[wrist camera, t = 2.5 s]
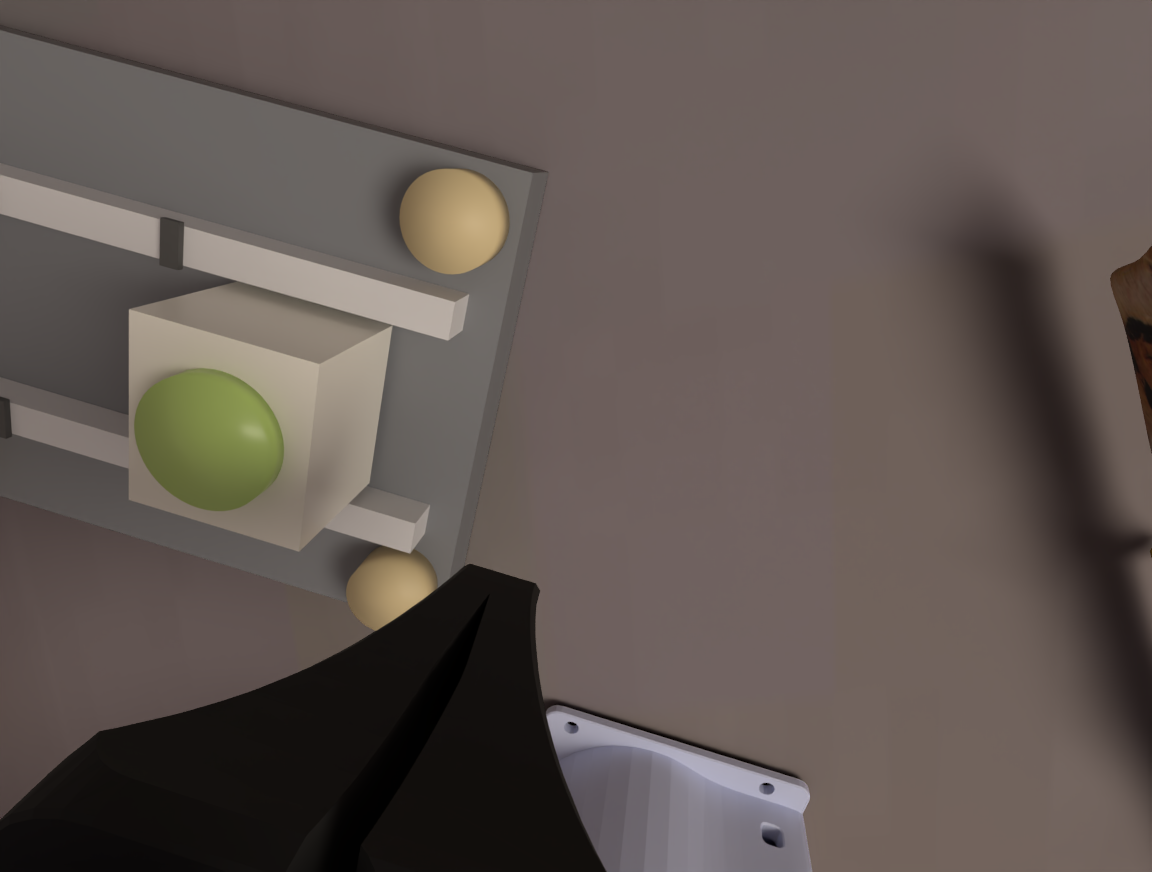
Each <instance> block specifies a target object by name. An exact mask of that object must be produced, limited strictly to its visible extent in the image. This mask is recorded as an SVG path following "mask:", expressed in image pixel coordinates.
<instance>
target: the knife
mask: <svg viewBox="0 0 1152 872" xmlns="http://www.w3.org/2000/svg"><path fill="white" fill-rule="evenodd" d="M1110 281H1111V287H1112V291H1113V294H1114V297H1115V300H1116V303H1117V305H1118V308H1119V311H1120V314H1121V317H1122V320H1123V324H1124V327H1125V331H1126V335H1127V338H1128V343H1129V347H1130V351H1131V356H1132V360H1133V365H1134V370H1135V374H1136V379H1137V384H1138V389H1139V394H1140V399H1141V404H1142V409H1143V414H1144V419H1145V424H1146V429H1147V434H1148V439H1149V443H1150V448H1151V453H1152V246H1151V247H1150V248H1149V250H1148V251H1147V252H1146V253H1145V254H1144V255H1143V256H1142V257H1141V258H1140V259H1139V260H1137V261H1135V262H1133V263H1131V264H1128V265H1126V266H1123V267H1121V268H1118V269H1117V270H1115V271H1114V272H1113V273H1112V275H1111V278H1110ZM1150 553H1151V557H1152V548H1151V550H1150Z"/></svg>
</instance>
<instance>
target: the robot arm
mask: <svg viewBox="0 0 1152 872" xmlns="http://www.w3.org/2000/svg"><path fill="white" fill-rule="evenodd" d="M539 593H540V590H539V588H538V587H537V585H536V583H533V582H529V581H526V580H523V579H519V578H516V577H513V576H509V575H506V574H503V573H499V572H496V571H493V570H489V569H486V568H483V567H479V566H476V565H473V564H468V565H466V566H464V567H462V568H461V569H460V570H459V571H458V572H457V573H455V574H454V575H453V576H452V577H451V578H450V579H448V580H447V581H446V582H445V583H443V584H442V585H441V586H440V587H438V588H437V589H436V590H434V591H433V592H432V593H431V594H429V595H428V596H427V597H425V598H424V599H423V600H421V601H420V602H418V603H417V604H416V605H414V606H413V607H411V608H410V609H408V610H407V611H406V612H404V613H403V614H401V615H400V616H399V617H397V618H396V619H394V620H393V621H391V622H389V623H388V624H386V625H385V626H383V627H381V628H380V629H378V630H377V631H375V632H373V633H372V634H370V635H368V636H367V637H365V638H364V639H362V640H360V641H359V642H357V643H355V644H353V645H352V646H350V647H348V648H346V649H344V650H343V651H341V652H339V653H337V654H335V655H333V656H331V657H329V658H327V659H325V660H323V661H321V662H319V663H317V664H315V665H313V666H311V667H309V668H307V669H305V670H302V671H300V672H298V673H295V674H293V675H291V676H288V677H286V678H283V679H281V680H279V681H276V682H274V683H271V684H269V685H266V686H264V687H261V688H259V689H256V690H253V691H250V692H248V693H245V694H242V695H239V696H236V697H233V698H230V699H227V700H224V701H221V702H217V703H214V704H210V705H207V706H204V707H200V708H197V709H194V710H190V711H186V712H183V713H179V714H175V715H171V716H167V717H162V718H158V719H154V720H149V721H145V722H141V723H136V724H132V725H128V726H123V727H119V728H114V729H109V730H104V731H99V732H98V733H97V734H96V735H94V736H93V737H92V738H91V739H90V740H88V741H87V742H86V743H85V744H83V745H82V746H81V747H80V748H78V749H77V750H76V751H74V752H73V753H72V754H71V755H69V756H68V757H67V758H66V759H65V760H64V761H62V762H61V763H60V764H59V765H58V766H57V767H56V768H55V769H53V770H52V771H51V772H50V773H49V774H48V775H47V776H46V777H45V778H44V779H43V780H42V781H41V782H39V783H38V784H37V785H36V786H35V787H34V788H33V789H32V790H31V791H30V792H29V793H28V794H27V795H26V796H25V797H24V798H23V799H22V800H21V801H19V802H18V803H17V804H16V805H15V806H14V807H13V808H12V809H11V810H10V811H9V812H8V813H7V814H6V815H5V816H4V817H3V818H2V819H0V872H812V867H811V861H810V855H809V849H808V843H807V837H806V831H805V825H804V819H803V812H804V810H805V808H806V806H807V804H808V802H809V799H810V794H809V789H808V786H807V784H806V783H805V782H804V781H802V780H800V779H797V778H794V777H790V776H787V775H784V774H781V773H777V772H774V771H771V770H768V769H765V768H761V767H758V766H755V765H752V764H748V763H745V762H742V761H739V760H736V759H732V758H729V757H726V756H723V755H719V754H716V753H713V752H710V751H707V750H703V749H700V748H697V747H694V746H690V745H687V744H684V743H681V742H678V741H674V740H671V739H668V738H665V737H661V736H658V735H655V734H652V733H648V732H645V731H642V730H639V729H636V728H632V727H629V726H626V725H623V724H619V723H616V722H613V721H610V720H607V719H603V718H600V717H597V716H594V715H590V714H587V713H584V712H581V711H578V710H574V709H571V708H568V707H565V706H560V705H554V706H551V707H550V708H548V709H547V711H546V712H545V707H544V702H543V697H542V691H541V685H540V679H539V672H538V662H537V652H536V638H535V616H536V604H537V600H538V596H539ZM567 722H574V723H576V724H577V725H576V726H573V725H570V724H568V723H567ZM763 783H770V785H762V784H763Z"/></svg>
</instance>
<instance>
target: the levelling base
mask: <svg viewBox="0 0 1152 872" xmlns="http://www.w3.org/2000/svg"><path fill="white" fill-rule="evenodd" d="M548 173H549V172H546V171H542V170H538V169H535V168H531V167H527V166H523V165H520V164H516V163H512V162H509V161H505V160H501V159H497V158H494V157H490V156H486V155H482V154H479V153H475V152H471V151H467V150H464V149H460V148H456V147H453V146H449V145H445V144H441V143H438V142H434V141H430V140H426V139H423V138H419V137H415V136H411V135H408V134H404V133H400V132H396V131H393V130H389V129H385V128H382V127H378V126H374V125H370V124H367V123H363V122H359V121H355V120H352V119H348V118H344V117H340V116H337V115H333V114H329V113H325V112H322V111H318V110H314V109H311V108H307V107H303V106H299V105H296V104H292V103H288V102H284V101H281V100H277V99H273V98H269V97H266V96H262V95H258V94H255V93H251V92H247V91H243V90H240V89H236V88H232V87H228V86H225V85H221V84H217V83H213V82H210V81H206V80H202V79H198V78H195V77H191V76H187V75H184V74H180V73H176V72H172V71H169V70H165V69H161V68H157V67H154V66H150V65H146V64H142V63H139V62H135V61H131V60H128V59H124V58H120V57H116V56H113V55H109V54H105V53H101V52H98V51H94V50H90V49H86V48H83V47H79V46H75V45H71V44H68V43H64V42H60V41H57V40H53V39H49V38H45V37H42V36H38V35H34V34H30V33H27V32H23V31H19V30H15V29H12V28H8V27H4V26H0V496H2V497H5V498H8V499H12V500H15V501H18V502H21V503H25V504H28V505H31V506H34V507H38V508H41V509H44V510H47V511H51V512H54V513H57V514H60V515H64V516H67V517H70V518H73V519H77V520H80V521H83V522H86V523H90V524H93V525H96V526H99V527H103V528H106V529H109V530H112V531H116V532H119V533H122V534H126V535H129V536H132V537H135V538H139V539H142V540H145V541H148V542H152V543H155V544H158V545H161V546H165V547H168V548H171V549H174V550H178V551H181V552H184V553H187V554H191V555H194V556H197V557H200V558H204V559H207V560H210V561H213V562H217V563H220V564H223V565H226V566H230V567H233V568H236V569H239V570H243V571H246V572H249V573H252V574H256V575H259V576H262V577H265V578H269V579H272V580H275V581H279V582H282V583H285V584H288V585H292V586H295V587H298V588H301V589H305V590H308V591H311V592H314V593H318V594H321V595H324V596H327V597H331V598H334V599H337V600H340V601H344V602H347V603H348V604H349V607H350V609H351V611H352V612H353V614H354V615H355V616H356V617H357V618H358V619H359V620H360V621H361V622H362V623H363V624H364V625H366V626H367V627H369V628H371V629H373V630H375V631H377V630H378V629H380V628H381V627H383V626H385V625H386V624H388V623H389V622H391V621H393V620H394V619H396V618H397V617H399V616H400V615H401V614H403V613H404V612H406V611H407V610H408V609H410V608H411V607H413V606H414V605H416V604H417V603H418V602H420V601H421V600H423V599H424V598H425V597H427V596H428V595H429V594H431V593H432V592H433V591H434V590H436V589H437V588H438V587H440V586H441V585H442V584H443V583H445V582H446V581H447V580H448V579H450V578H451V577H452V576H453V575H454V574H455V573H457V572H458V571H459V570H460V569H461V568H462V567H464V564H465V559H466V555H467V550H468V545H469V541H470V536H471V531H472V527H473V522H474V517H475V513H476V508H477V503H478V499H479V494H480V489H481V485H482V480H483V475H484V471H485V466H486V461H487V457H488V452H489V447H490V443H491V438H492V433H493V429H494V424H495V420H496V415H497V410H498V406H499V401H500V396H501V392H502V387H503V382H504V378H505V373H506V368H507V364H508V359H509V354H510V350H511V345H512V340H513V336H514V331H515V326H516V322H517V317H518V312H519V308H520V303H521V298H522V294H523V289H524V284H525V280H526V275H527V270H528V266H529V261H530V256H531V252H532V247H533V242H534V238H535V233H536V228H537V224H538V219H539V214H540V210H541V205H542V201H543V196H544V191H545V187H546V182H547V177H548ZM234 282H241V283H245V284H248V285H252V286H255V287H259V288H262V289H266V290H269V291H273V292H276V293H280V294H283V295H287V296H291V297H294V298H298V299H301V300H305V301H308V302H312V303H315V304H319V305H322V306H326V307H329V308H333V309H336V310H340V311H343V312H347V313H351V314H354V315H358V316H361V317H365V318H368V319H372V320H375V321H379V322H382V323H386V324H389V325H393V326H392V332H391V339H390V346H389V353H388V360H387V367H386V373H385V380H384V387H383V394H382V401H381V407H380V414H379V421H378V428H377V435H376V442H375V448H374V455H373V462H372V469H371V476H370V482H369V484H368V485H367V486H366V487H365V488H364V489H363V490H362V491H361V492H360V493H359V494H358V495H357V496H356V497H355V498H354V499H353V500H352V501H351V502H349V503H348V504H347V505H346V506H345V507H344V508H343V509H342V510H341V511H340V512H339V513H338V514H337V515H336V516H335V517H334V518H333V519H332V520H331V521H330V522H329V523H328V524H327V525H326V526H325V527H324V528H323V529H322V530H321V531H320V532H319V533H318V534H317V535H316V536H315V537H314V538H313V539H312V540H311V541H310V542H309V543H308V544H306V545H305V546H304V547H303V548H302V549H301V550H300V551H299V552H298V551H295V550H292V549H289V548H285V547H282V546H279V545H275V544H272V543H269V542H266V541H262V540H259V539H256V538H252V537H249V536H246V535H243V534H239V533H236V532H233V531H229V530H226V529H223V528H220V527H216V526H213V525H210V524H206V523H203V522H200V521H197V520H193V519H190V518H187V517H183V516H180V515H177V514H174V513H170V512H167V511H164V510H160V509H157V508H154V507H151V506H147V505H144V504H141V503H137V502H134V501H131V500H129V309H132V308H136V307H140V306H143V305H147V304H151V303H155V302H159V301H163V300H167V299H171V298H175V297H179V296H183V295H187V294H190V293H194V292H198V291H202V290H206V289H210V288H214V287H218V286H222V285H226V284H230V283H234Z"/></svg>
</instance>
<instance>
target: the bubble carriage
mask: <svg viewBox="0 0 1152 872" xmlns="http://www.w3.org/2000/svg"><path fill="white" fill-rule="evenodd" d="M392 326H393V325H389V324H386V323H382V322H379V321H375V320H372V319H368V318H365V317H361V316H358V315H354V314H351V313H347V312H343V311H340V310H336V309H333V308H329V307H326V306H322V305H319V304H315V303H312V302H308V301H305V300H301V299H298V298H294V297H291V296H287V295H283V294H280V293H276V292H273V291H269V290H266V289H262V288H259V287H255V286H252V285H248V284H245V283H241V282H234V283H230V284H226V285H222V286H218V287H214V288H210V289H206V290H202V291H198V292H194V293H190V294H187V295H183V296H179V297H175V298H171V299H167V300H163V301H159V302H155V303H151V304H147V305H143V306H140V307H136V308H132V309H129V500H131V501H134V502H137V503H141V504H144V505H147V506H151V507H154V508H157V509H160V510H164V511H167V512H170V513H174V514H177V515H180V516H183V517H187V518H190V519H193V520H197V521H200V522H203V523H206V524H210V525H213V526H216V527H220V528H223V529H226V530H229V531H233V532H236V533H239V534H243V535H246V536H249V537H252V538H256V539H259V540H262V541H266V542H269V543H272V544H275V545H279V546H282V547H285V548H289V549H292V550H295V551H298V552H299V551H300V550H301V549H302V548H303V547H304V546H305V545H306V544H308V543H309V542H310V541H311V540H312V539H313V538H314V537H315V536H316V535H317V534H318V533H319V532H320V531H321V530H322V529H323V528H324V527H325V526H326V525H327V524H328V523H329V522H330V521H331V520H332V519H333V518H334V517H335V516H336V515H337V514H338V513H339V512H340V511H341V510H342V509H343V508H344V507H345V506H346V505H347V504H348V503H349V502H351V501H352V500H353V499H354V498H355V497H356V496H357V495H358V494H359V493H360V492H361V491H362V490H363V489H364V488H365V487H366V486H367V485H368V484H369V482H370V476H371V469H372V462H373V455H374V448H375V442H376V435H377V428H378V421H379V414H380V407H381V401H382V394H383V387H384V380H385V373H386V367H387V360H388V353H389V346H390V339H391V332H392Z"/></svg>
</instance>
